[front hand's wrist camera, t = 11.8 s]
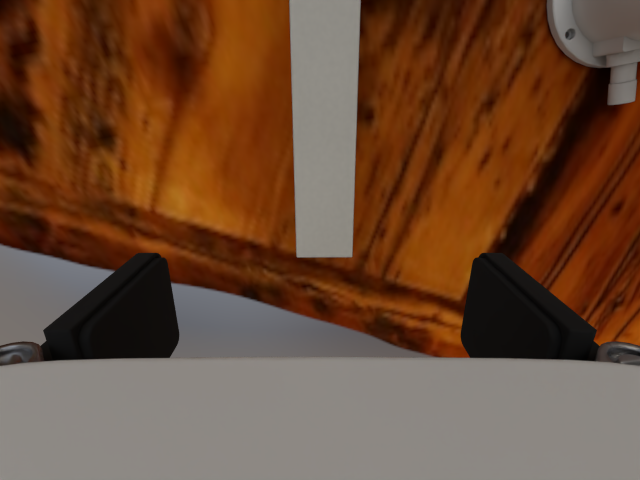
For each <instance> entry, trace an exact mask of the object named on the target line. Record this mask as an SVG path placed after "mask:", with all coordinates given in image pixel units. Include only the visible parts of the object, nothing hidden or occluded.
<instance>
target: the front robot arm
mask: <svg viewBox="0 0 640 480" xmlns="http://www.w3.org/2000/svg"><path fill="white" fill-rule="evenodd" d="M547 16H548V23H549V26H550V30H551V34H552V36H553V38H554V40H555V42H556V44H557V45H558V47H559V48H560V49H561V50H562V51H563V52H564V54H565V55H566V56H568V57H569V58H571V59H572V60H573V61H575V62H577V63H579V64H582V65H585V66H588V67H595V68H607V67H611V76H610V84H609V86H608V100H607V104H608V105H616V104H624V103H630V102H633V101H635V96H636V85H637V79H636V72H637V62H639V61H640V0H547ZM565 34H566V37H565ZM43 331H44V334H45V337H46V340H47V341H46V342H45V343H43V344H42V345H41V346H40V345H39V344H36V343H34V342H16V343H10V344H6V345H2V346H0V480H640V346H638V345H634V344H630V343H624V342H606V343H604V344H601V345H600V346H599V345H598V344H597V343H595V342H594V341H593V340H594V337H595V334H596V331H597V330H596V329H595V328H593V327H592V326H591V325H590V324H588V323H587V322H586V321H585V320H584V319H582V318H581V317H580V316H579V315H577V314H576V313H575V312H574V311H573V310H571V309H570V308H569V307H568V306H566V305H565V304H564V303H563V302H562V301H560V300H559V299H558V298H557V297H555V296H554V295H553V294H552V293H551V292H549V291H548V290H547V289H546V288H544V287H543V286H542V285H541V284H540V283H538V282H537V281H536V280H535V279H533V278H532V277H531V276H530V275H529V274H527V273H526V272H525V271H524V270H522V269H521V268H520V267H519V266H518V265H516V264H515V263H514V262H513V261H511V260H510V259H509V258H508V257H507V256H505V255H504V254H502V253H482V254H480V256H479V258H475V259H474V260H473V263H472V269H471V275H470V281H469V287H468V293H467V299H466V305H465V311H464V317H463V323H462V329H461V341H462V344H463V346H464V348H465V349H466V351H467V353H468V354H469V356H470V358H414V357H412V358H411V357H220V358H219V357H217V358H170V356H171V354H172V353H173V351H174V349H175V348H176V346H177V344H178V341H179V329H178V323H177V317H176V311H175V305H174V299H173V293H172V287H171V281H170V275H169V269H168V263H167V260H166V259H165V258H161V256H160V254H158V253H138V254H136V255H135V256H133V257H132V258H131V259H130V260H129V261H127V262H126V263H125V264H124V265H122V266H121V267H120V268H119V269H118V270H116V271H115V272H114V273H113V274H111V275H110V276H109V277H108V278H107V279H105V280H104V281H103V282H102V283H100V284H99V285H98V286H97V287H96V288H94V289H93V290H92V291H91V292H89V293H88V294H87V295H86V296H85V297H83V298H82V299H81V300H80V301H78V302H77V303H76V304H75V305H74V306H72V307H71V308H70V309H69V310H67V311H66V312H65V313H64V314H63V315H61V316H60V317H59V318H58V319H56V320H55V321H54V322H53V323H52V324H50V325H49V326H48V327H47V328H45V329H44V330H43Z"/></svg>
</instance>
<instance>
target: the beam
mask: <svg viewBox="0 0 640 480" xmlns="http://www.w3.org/2000/svg"><path fill="white" fill-rule="evenodd" d="M360 4H361V0H289V6H290V41H291V77H292V112H293V148H294V183H295V218H296V254H297V257H352V250H353V220H354V189H355V158H356V127H357V97H358V66H359V35H360Z"/></svg>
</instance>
